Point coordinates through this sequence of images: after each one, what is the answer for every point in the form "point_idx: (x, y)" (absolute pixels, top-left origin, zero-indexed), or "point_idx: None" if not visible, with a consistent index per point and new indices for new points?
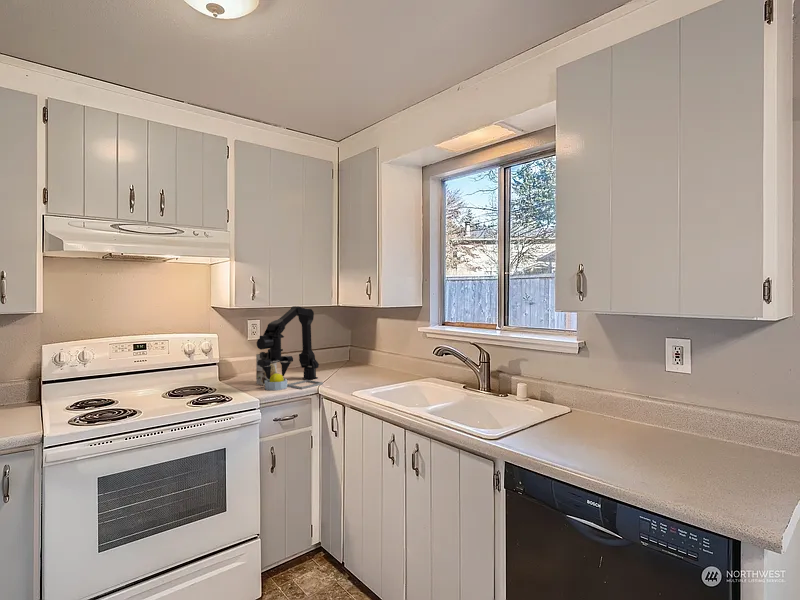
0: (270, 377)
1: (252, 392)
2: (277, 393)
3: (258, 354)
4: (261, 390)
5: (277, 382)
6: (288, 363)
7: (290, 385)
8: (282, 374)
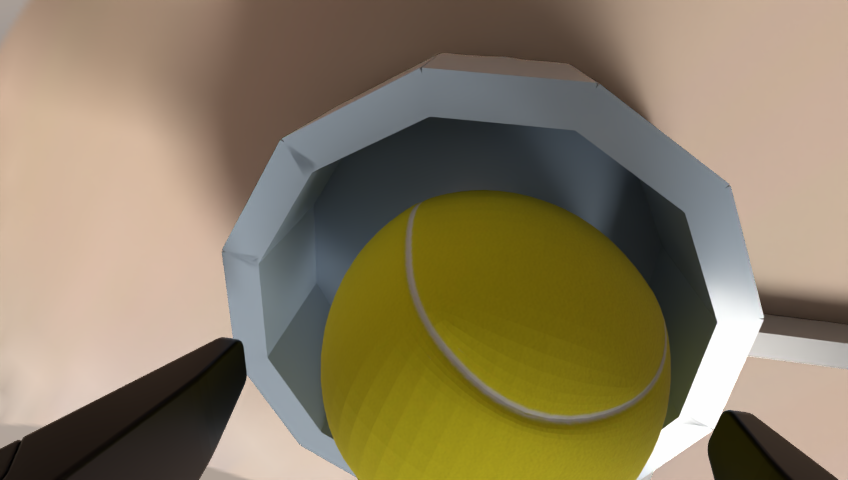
0: (346, 318)
1: (51, 154)
2: (262, 463)
3: None
4: (220, 171)
5: (347, 468)
6: None
7: None
8: (739, 454)
